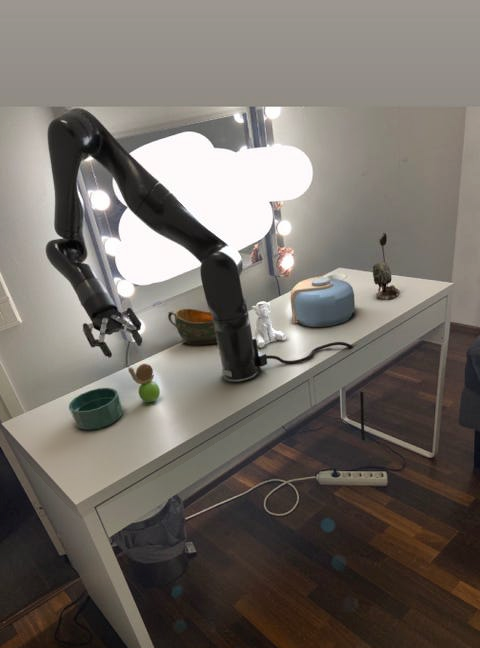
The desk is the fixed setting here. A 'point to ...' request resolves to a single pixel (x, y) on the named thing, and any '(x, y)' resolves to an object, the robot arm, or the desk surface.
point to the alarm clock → (322, 302)
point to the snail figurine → (145, 382)
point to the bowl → (96, 408)
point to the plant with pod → (383, 276)
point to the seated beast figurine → (265, 326)
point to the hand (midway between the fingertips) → (125, 350)
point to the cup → (194, 326)
